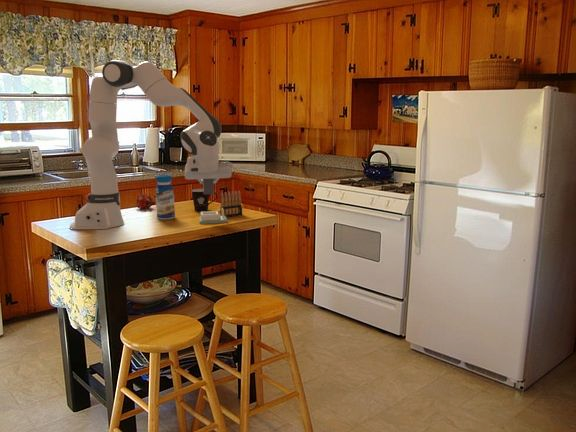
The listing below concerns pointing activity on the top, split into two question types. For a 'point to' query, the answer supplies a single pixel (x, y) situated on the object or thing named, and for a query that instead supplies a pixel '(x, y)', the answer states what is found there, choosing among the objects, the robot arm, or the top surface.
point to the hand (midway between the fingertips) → (208, 182)
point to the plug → (208, 186)
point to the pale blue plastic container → (212, 217)
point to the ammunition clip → (231, 204)
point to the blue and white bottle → (164, 197)
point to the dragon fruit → (144, 201)
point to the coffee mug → (201, 200)
